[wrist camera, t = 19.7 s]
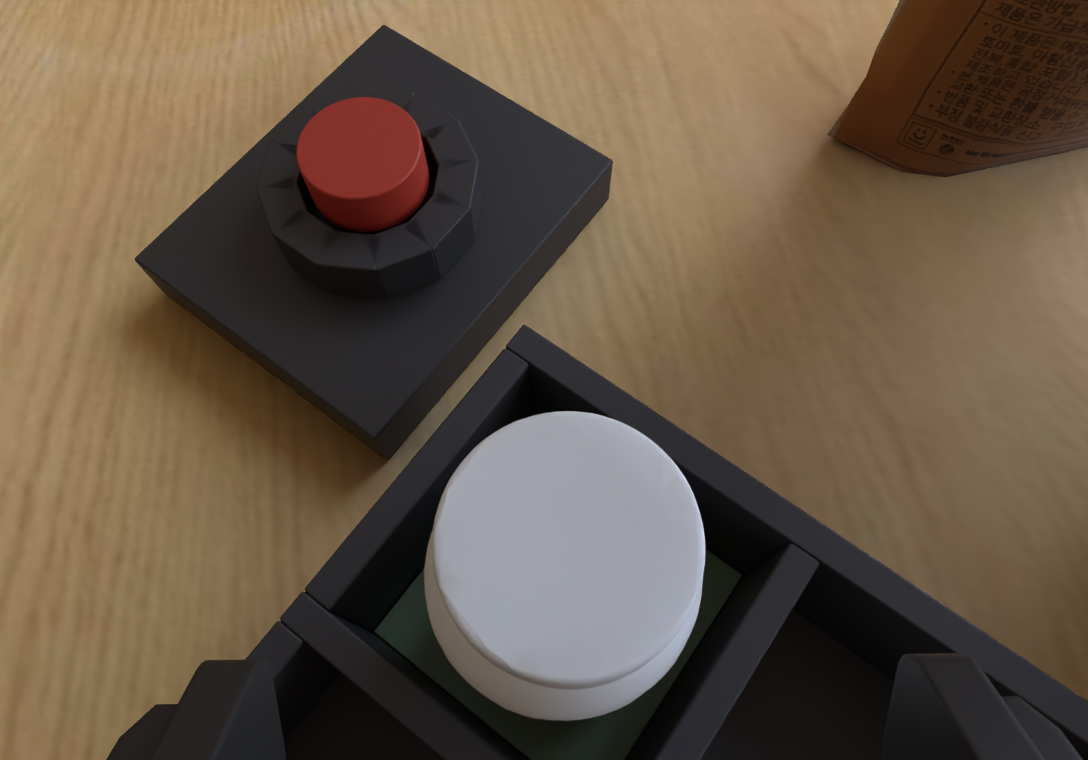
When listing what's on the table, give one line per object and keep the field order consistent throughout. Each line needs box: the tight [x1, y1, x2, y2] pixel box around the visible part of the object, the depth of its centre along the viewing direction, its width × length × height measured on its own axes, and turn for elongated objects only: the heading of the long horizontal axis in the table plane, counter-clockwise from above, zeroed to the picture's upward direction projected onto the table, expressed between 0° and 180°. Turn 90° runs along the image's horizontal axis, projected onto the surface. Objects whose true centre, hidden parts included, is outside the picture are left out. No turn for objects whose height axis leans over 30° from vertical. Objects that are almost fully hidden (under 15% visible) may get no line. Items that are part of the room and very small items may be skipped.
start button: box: [296, 97, 429, 232], centre depth 24 cm, size 4×4×2 cm
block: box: [135, 25, 613, 460], centre depth 27 cm, size 12×10×4 cm
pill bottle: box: [424, 411, 705, 722], centre depth 18 cm, size 6×6×10 cm
